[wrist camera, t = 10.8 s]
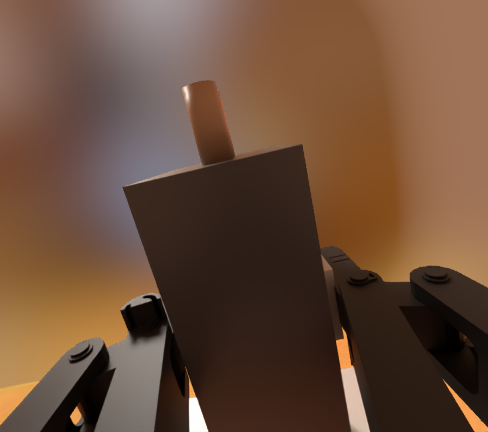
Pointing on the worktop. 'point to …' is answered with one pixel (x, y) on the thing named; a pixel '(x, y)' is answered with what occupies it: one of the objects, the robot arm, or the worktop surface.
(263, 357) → the block
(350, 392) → the header board
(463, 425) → the robot arm
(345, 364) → the worktop surface
